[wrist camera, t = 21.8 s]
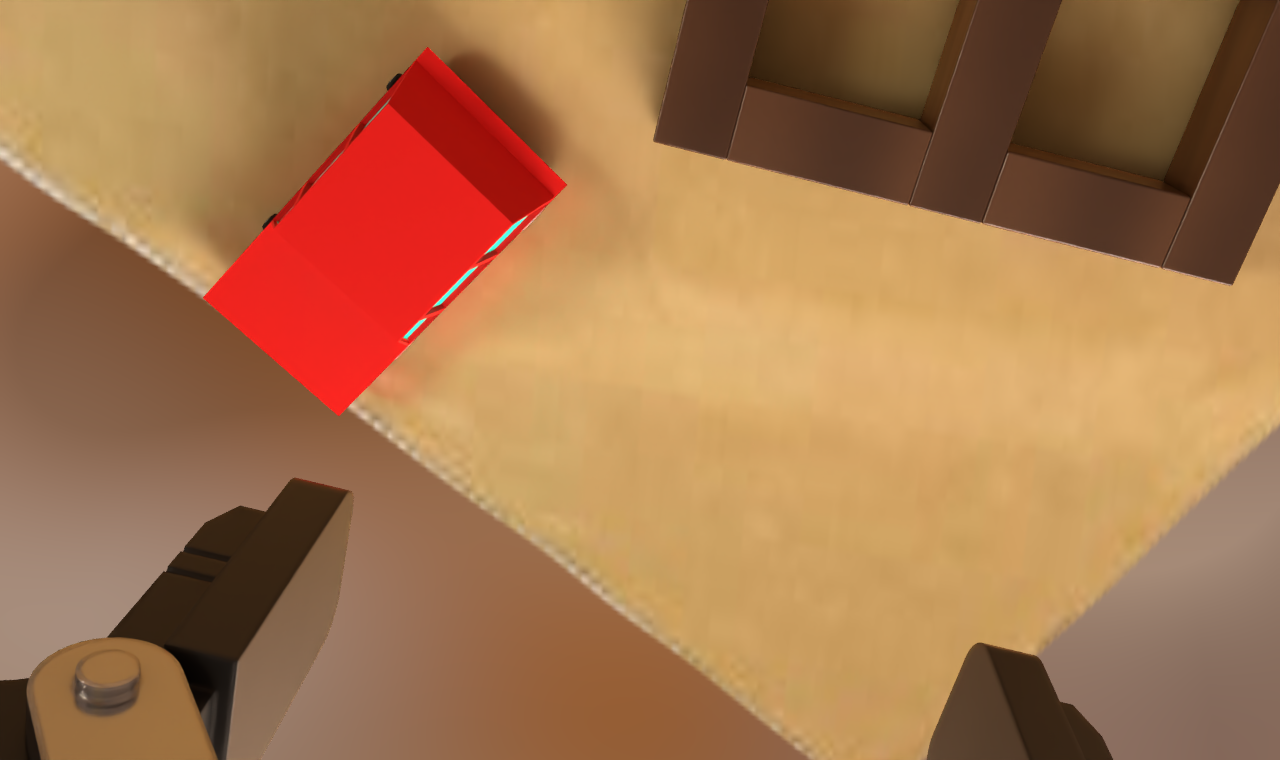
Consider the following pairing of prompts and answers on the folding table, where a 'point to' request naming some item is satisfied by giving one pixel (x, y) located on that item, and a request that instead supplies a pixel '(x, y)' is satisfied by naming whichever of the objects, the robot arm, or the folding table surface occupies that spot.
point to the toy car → (385, 234)
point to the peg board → (997, 136)
